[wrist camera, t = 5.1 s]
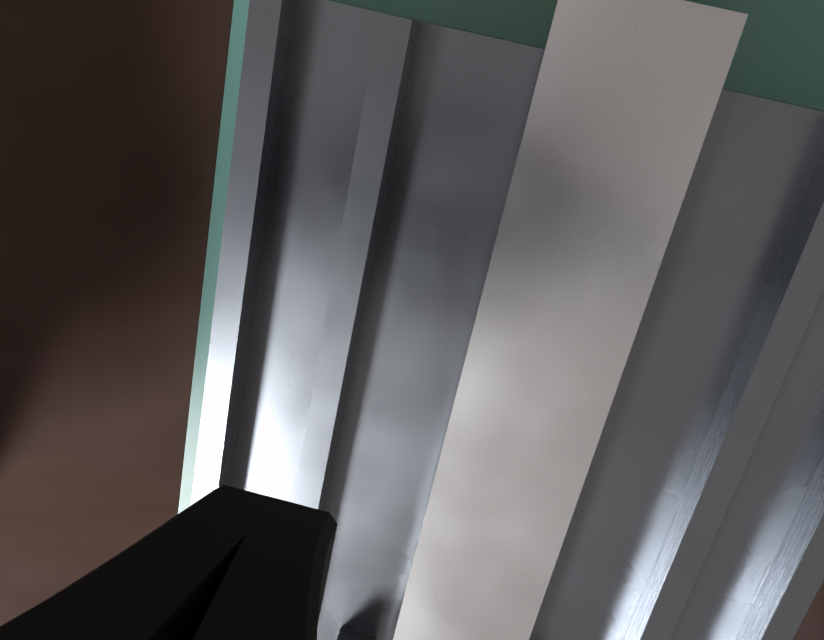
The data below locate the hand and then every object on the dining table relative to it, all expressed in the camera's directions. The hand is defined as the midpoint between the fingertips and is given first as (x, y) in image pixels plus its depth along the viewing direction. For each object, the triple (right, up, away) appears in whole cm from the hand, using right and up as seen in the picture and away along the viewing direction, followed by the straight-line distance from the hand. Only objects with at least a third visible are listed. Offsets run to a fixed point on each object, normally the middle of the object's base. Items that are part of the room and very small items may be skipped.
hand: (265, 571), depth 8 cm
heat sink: (+4, +3, +8) cm, 9 cm away
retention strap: (+4, +1, +5) cm, 6 cm away
